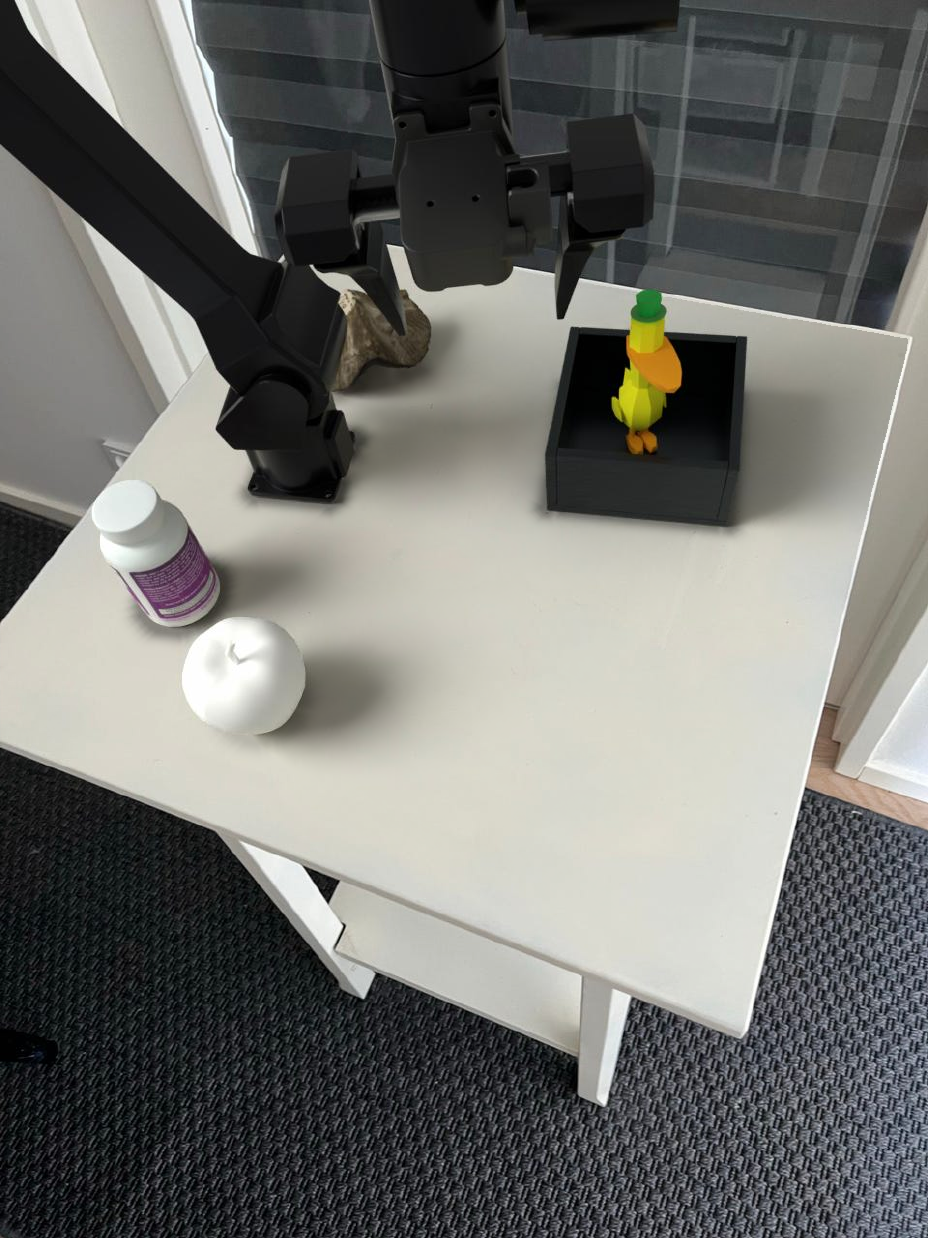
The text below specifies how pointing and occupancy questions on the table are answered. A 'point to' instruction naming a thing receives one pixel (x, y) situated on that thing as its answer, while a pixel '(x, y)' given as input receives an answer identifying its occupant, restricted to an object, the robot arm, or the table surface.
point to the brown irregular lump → (379, 338)
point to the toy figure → (646, 372)
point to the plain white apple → (244, 676)
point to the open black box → (686, 433)
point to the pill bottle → (155, 553)
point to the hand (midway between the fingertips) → (480, 323)
